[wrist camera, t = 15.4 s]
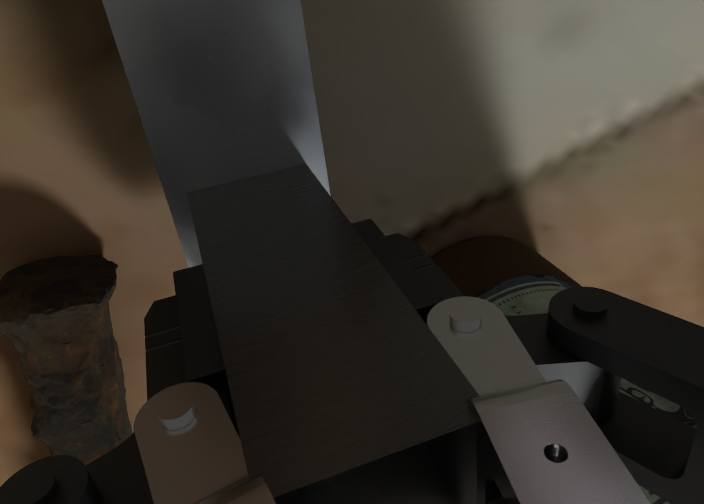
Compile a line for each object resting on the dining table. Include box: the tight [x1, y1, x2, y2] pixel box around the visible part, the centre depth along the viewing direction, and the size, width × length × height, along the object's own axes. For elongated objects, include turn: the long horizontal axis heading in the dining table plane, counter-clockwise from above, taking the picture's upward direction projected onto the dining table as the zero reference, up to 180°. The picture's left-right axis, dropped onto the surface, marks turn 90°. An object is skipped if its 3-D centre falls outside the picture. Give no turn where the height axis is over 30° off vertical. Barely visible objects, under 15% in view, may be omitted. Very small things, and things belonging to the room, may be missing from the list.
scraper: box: [102, 0, 480, 504], centre depth 12 cm, size 4×12×12 cm, turn 6°
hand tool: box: [0, 255, 132, 466], centre depth 24 cm, size 19×4×5 cm, turn 175°
